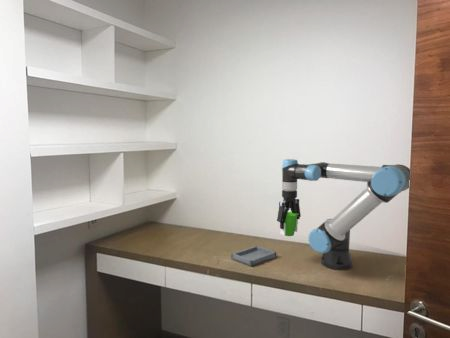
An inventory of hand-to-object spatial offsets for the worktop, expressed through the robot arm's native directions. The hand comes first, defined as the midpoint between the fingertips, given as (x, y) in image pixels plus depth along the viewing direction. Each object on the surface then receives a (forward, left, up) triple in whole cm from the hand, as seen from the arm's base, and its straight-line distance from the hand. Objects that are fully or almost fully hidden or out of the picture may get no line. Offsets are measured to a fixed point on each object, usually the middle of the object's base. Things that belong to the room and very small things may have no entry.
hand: (288, 232), depth 185 cm
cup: (0, 0, -1) cm, 1 cm away
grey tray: (+15, +10, -15) cm, 24 cm away
